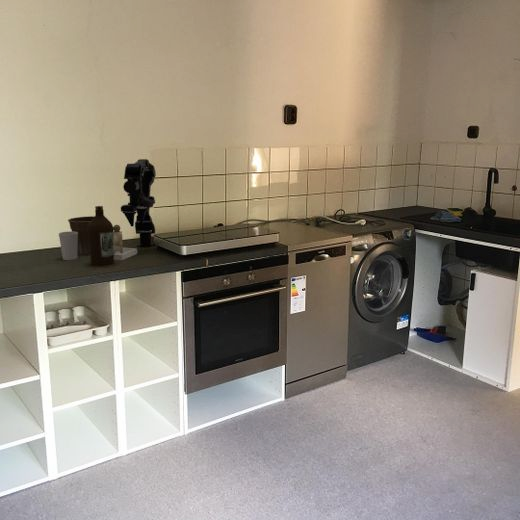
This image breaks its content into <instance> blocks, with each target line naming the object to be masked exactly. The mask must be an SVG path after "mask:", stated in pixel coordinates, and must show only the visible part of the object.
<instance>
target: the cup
mask: <svg viewBox="0 0 520 520" xmlns="http://www.w3.org/2000/svg"><path fill="white" fill-rule="evenodd" d="M58 237H59V243H60V251H61V256H62V257H61V258H62V260H63V261H64V260H65V261H73V260H77V259H78V254H77V245H78V232H72V230H71V231H61V232H58Z"/></svg>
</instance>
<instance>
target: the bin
mask: <svg viewBox="0 0 520 520" xmlns="http://www.w3.org/2000/svg"><path fill="white" fill-rule="evenodd" d="M137 254H138V248H134V247H123V254H114V261H124V260H127V259H128V258H131V257H134V256H135V255H137Z"/></svg>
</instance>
